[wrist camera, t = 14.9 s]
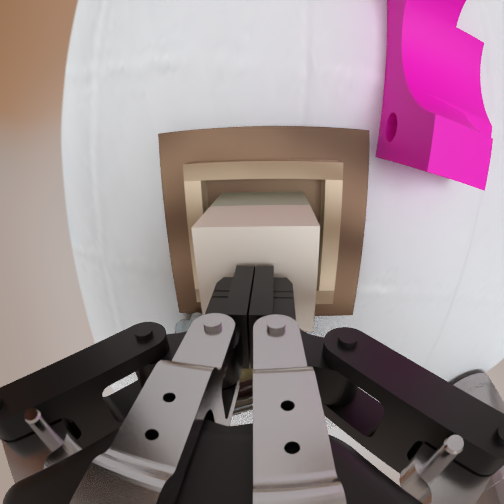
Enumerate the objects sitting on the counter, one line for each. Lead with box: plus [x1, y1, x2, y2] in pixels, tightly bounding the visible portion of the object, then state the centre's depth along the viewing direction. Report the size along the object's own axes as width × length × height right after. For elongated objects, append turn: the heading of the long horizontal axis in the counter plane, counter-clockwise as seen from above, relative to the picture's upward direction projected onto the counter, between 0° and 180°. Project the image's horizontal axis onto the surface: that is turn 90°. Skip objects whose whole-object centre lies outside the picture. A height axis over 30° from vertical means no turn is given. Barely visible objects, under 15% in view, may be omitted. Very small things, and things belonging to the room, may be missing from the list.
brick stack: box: [191, 192, 320, 332], centre depth 15 cm, size 5×5×7 cm
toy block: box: [376, 0, 493, 191], centre depth 11 cm, size 15×6×8 cm, turn 174°
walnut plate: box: [158, 126, 369, 316], centre depth 18 cm, size 13×13×3 cm
